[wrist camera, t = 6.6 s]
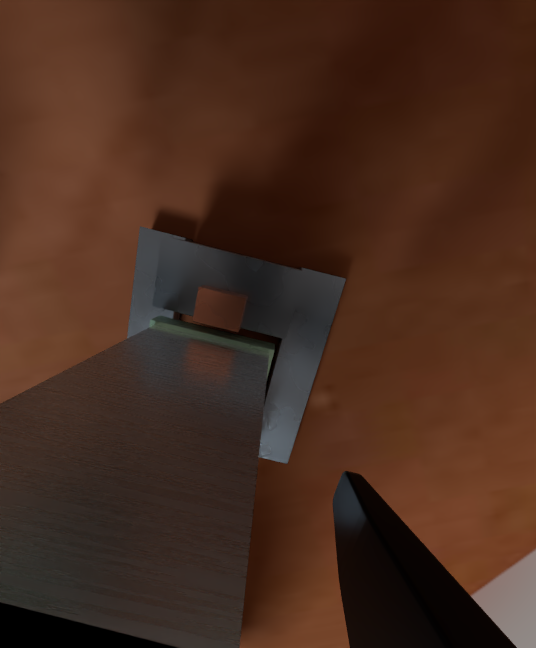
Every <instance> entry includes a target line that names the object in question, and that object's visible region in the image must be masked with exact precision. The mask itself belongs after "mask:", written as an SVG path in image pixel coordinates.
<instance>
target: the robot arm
mask: <svg viewBox="0 0 536 648" xmlns="http://www.w3.org/2000/svg"><path fill="white" fill-rule="evenodd" d="M333 514H334V526H335V539H336V551H337V563H338V574H339V583H340V590H341V596H342V602H343V608H344V614H345V620H346V626H347V632H348V638H349V644H350V648H517V647H516V646H515V645H514V644H513V643H512V642H511V641H510V639H508V637H507V636H506V635H505V634H504V633H503V632H502V631H501V630H500V628H499V627H498V626H497V625H496V624H495V623H494V622H493V621H492V620H491V618H490V617H489V616H488V615H487V614H486V613H485V612H484V611H483V610H482V609H481V607H480V606H479V605H478V604H477V603H476V602H475V601H474V600H473V598H472V597H471V596H470V595H469V594H468V593H467V592H466V591H465V590H464V588H463V587H462V586H461V585H460V584H459V583H458V582H457V581H456V580H455V578H454V577H453V576H452V575H451V574H450V573H449V572H448V571H447V570H446V568H445V567H444V566H443V565H442V564H441V563H440V562H439V561H438V560H437V558H436V557H435V556H434V555H433V554H432V553H431V552H430V551H429V550H428V549H427V547H426V546H425V545H424V544H423V543H422V542H421V541H420V540H419V539H418V537H417V536H416V535H415V534H414V533H413V532H412V531H411V530H410V529H409V527H408V526H407V525H406V524H405V523H404V522H403V521H402V520H401V519H400V517H399V516H398V515H397V514H396V513H395V512H394V511H393V510H392V509H391V507H390V506H389V505H388V504H387V503H386V502H385V501H384V500H383V499H382V497H381V496H380V495H379V494H378V493H377V492H376V491H375V490H374V489H373V487H372V486H371V485H370V484H369V483H368V482H367V481H366V480H365V479H364V478H363V477H362V476H361V475H360V474H358V473H353V472H349V471H345V472H343V474H342V476H341V478H340V481H339V483H338V486H337V489H336V491H335V494H334V497H333Z"/></svg>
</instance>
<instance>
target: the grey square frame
mask: <svg viewBox="0 0 536 648" xmlns="http://www.w3.org/2000/svg"><path fill="white" fill-rule="evenodd" d="M345 281H346V279H345V278H341V277H337V276H333V275H329V274H325V273H321V272H317V271H314V270H310V269H306V268H302V267H300V269H297V268H293V267H289V266H285V265H281V264H277V263H273V262H269V261H265V260H261V259H257V258H254V257H250V256H246V255H242V254H238V253H234V252H230V251H226V250H222V249H218V248H214V247H210V246H206V245H202V244H198V243H194V242H193V240H192V239H188V238H184V237H180V236H176V235H172V234H168V233H164V232H160V231H156V230H152V229H148V228H144V227H140V231H139V240H138V249H137V257H136V266H135V275H134V283H133V292H132V301H131V310H130V318H129V327H128V336H127V339H128V338H129V337H131V336H133V335H135V334H137V333H139V332H141V331H143V330H145V329H147V328H149V325H150V320H151V319H153V318H155V317H157V316H159V315H160V316H164V317H168V318H173V319H177V320H180V315H181V313H182V314H186V315H190V316H193V321H194V322H198V323H202V324H206V325H210V326H214V327H218V328H222V329H226V330H230V331H234V332H239V330H240V328H243V329H247V330H251V331H255V332H259V333H263V334H267V335H271V336H275V337H279V338H281V339H280V343H279V346H278V350H277V354H276V358H275V361H274V365H273V369H272V372H271V376H270V380H269V383H268V387H267V391H266V395H265V400H264V410H263V420H262V430H261V440H260V449H259V457H261V458H265V459H269V460H273V461H278V462H282V463H286V464H287V463H288V460H289V457H290V454H291V451H292V447H293V444H294V441H295V438H296V435H297V432H298V429H299V425H300V422H301V419H302V416H303V413H304V410H305V407H306V403H307V400H308V397H309V394H310V391H311V388H312V385H313V381H314V378H315V375H316V372H317V369H318V366H319V363H320V359H321V356H322V353H323V350H324V347H325V344H326V340H327V337H328V334H329V331H330V328H331V325H332V322H333V318H334V315H335V312H336V309H337V306H338V303H339V300H340V296H341V293H342V290H343V287H344V284H345Z"/></svg>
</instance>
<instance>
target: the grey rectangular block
mask: <svg viewBox="0 0 536 648" xmlns="http://www.w3.org/2000/svg"><path fill="white" fill-rule="evenodd" d="M274 351H275V344H273V343H269V342H265V341H261V340H257V339H253V338H249V337H245V336H241V335H237V334H233V333H229V332H225V331H221V330H217V329H213V328H209V327H205V326H201V325H197V324H193V323H189V322H185V321H181V320H177V319H173V318H168V317H164V316H160V315H159V316H157V317H155V318H153V319H151V320H150V325H149V328H147V329H145V330H143V331H141V332H139V333H137V334H135V335H133V336H131V337H129V338H128V339H126V340H124V341H122V342H120V343H118V344H116V345H114V346H112V347H110V348H108V349H106V350H104V351H102V352H100V353H98V354H96V355H94V356H92V357H90V358H88V359H87V360H85V361H83V362H81V363H79V364H77V365H75V366H73V367H71V368H69V369H67V370H65V371H63V372H61V373H59V374H57V375H55V376H53V377H51V378H49V379H47V380H46V381H44V382H42V383H40V384H38V385H36V386H34V387H32V388H30V389H28V390H26V391H24V392H22V393H20V394H18V395H16V396H14V397H12V398H10V399H8V400H6V401H4V402H3V403H1V404H0V648H239V646H240V636H241V626H242V616H243V606H244V596H245V587H246V577H247V567H248V557H249V547H250V538H251V528H252V518H253V508H254V498H255V489H256V479H257V469H258V459H259V449H260V440H261V430H262V420H263V410H264V400H265V391H266V381H267V377H268V373H269V370H270V366H271V362H272V358H273V355H274Z"/></svg>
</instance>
